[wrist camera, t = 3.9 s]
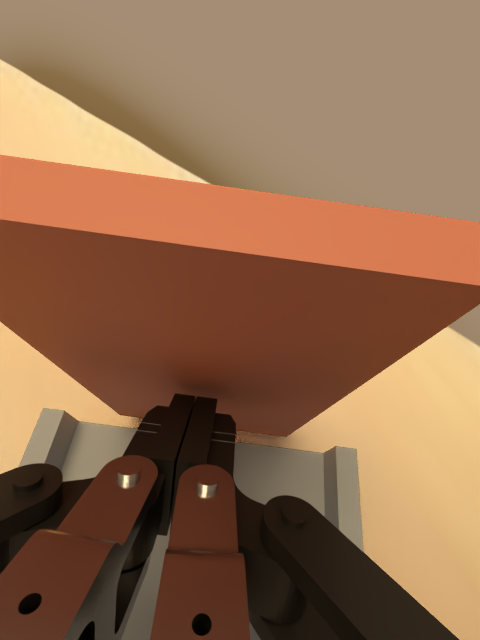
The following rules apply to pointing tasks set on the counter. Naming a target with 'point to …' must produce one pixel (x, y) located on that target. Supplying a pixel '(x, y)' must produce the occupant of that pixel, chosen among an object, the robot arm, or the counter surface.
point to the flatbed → (249, 476)
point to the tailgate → (221, 289)
